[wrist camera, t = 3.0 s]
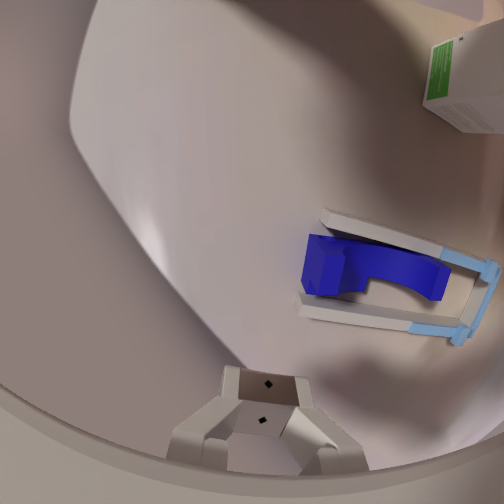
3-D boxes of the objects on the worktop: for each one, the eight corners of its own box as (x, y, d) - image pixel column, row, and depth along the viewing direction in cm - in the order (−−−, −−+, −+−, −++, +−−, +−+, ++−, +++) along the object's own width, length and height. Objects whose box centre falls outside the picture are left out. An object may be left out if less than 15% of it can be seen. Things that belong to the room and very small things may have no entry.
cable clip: (300, 280, 26) (313, 311, 20) (308, 233, 25) (325, 254, 19) (407, 288, 26) (435, 315, 21) (418, 248, 25) (451, 269, 19)
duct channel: (325, 201, 24) (337, 208, 20) (490, 257, 25) (509, 267, 22) (293, 308, 27) (298, 330, 23) (458, 331, 28) (473, 346, 25)
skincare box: (429, 46, 18) (530, 2, 3) (472, 77, 19) (572, 60, 4) (420, 109, 21) (546, 89, 6) (464, 138, 21) (581, 146, 6)
